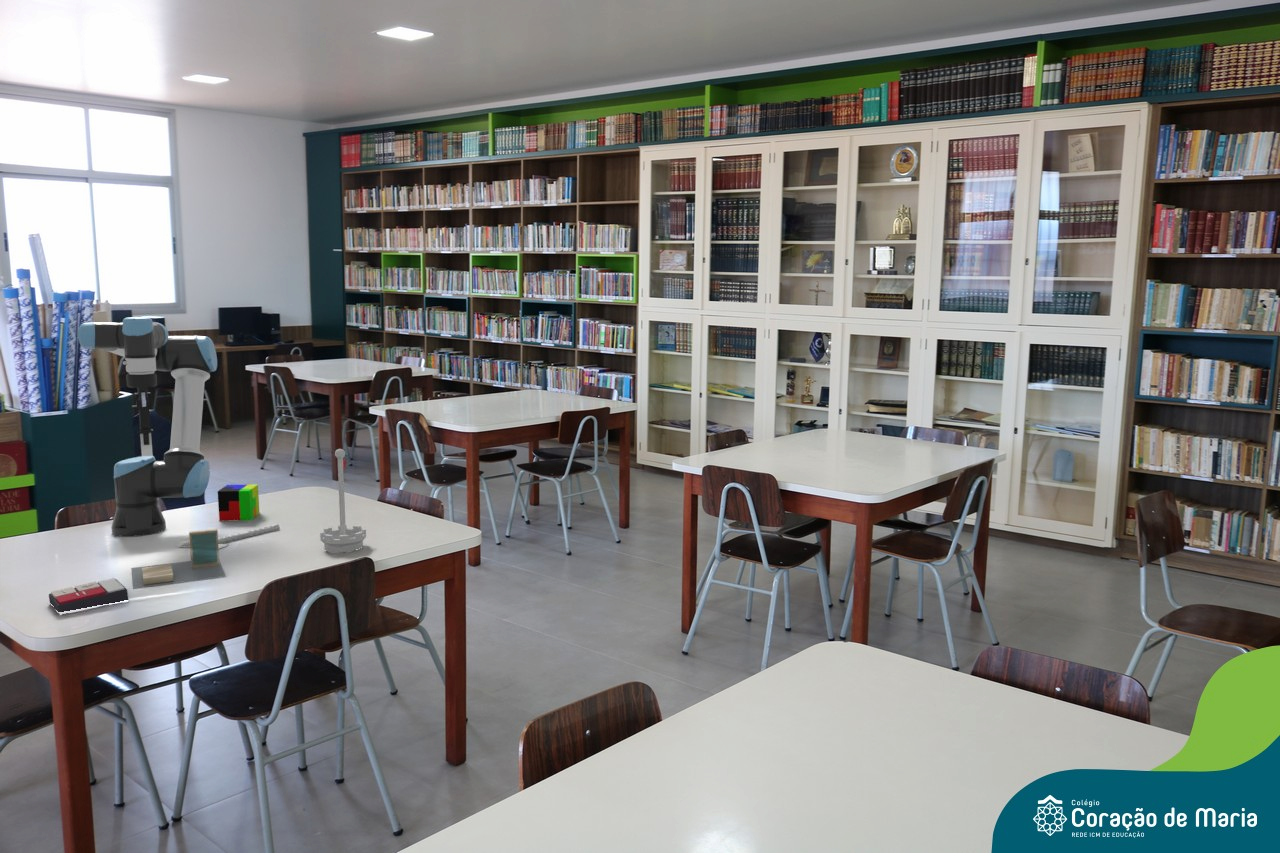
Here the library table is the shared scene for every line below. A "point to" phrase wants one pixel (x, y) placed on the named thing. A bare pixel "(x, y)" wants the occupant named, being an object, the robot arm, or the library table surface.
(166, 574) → the tile
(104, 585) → the black red flat box
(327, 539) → the flag stand
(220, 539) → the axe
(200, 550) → the tile
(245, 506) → the puzzle toy
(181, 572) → the mat
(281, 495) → the library table surface
